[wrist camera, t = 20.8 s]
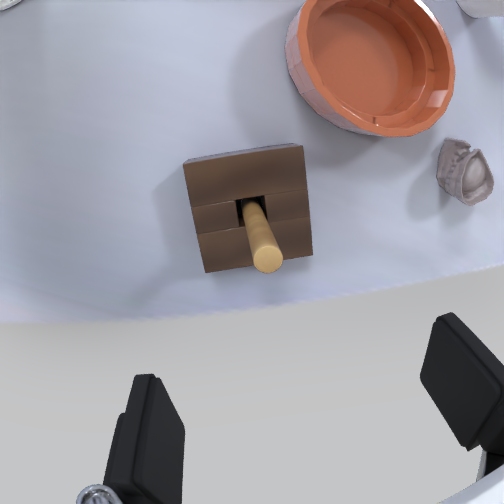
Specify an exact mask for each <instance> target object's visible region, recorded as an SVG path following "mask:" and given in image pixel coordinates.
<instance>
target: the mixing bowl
mask: <svg viewBox="0 0 504 504" xmlns="http://www.w3.org/2000/svg"><path fill="white" fill-rule="evenodd" d="M285 53H286V59H287V65H288V71H289V73H290V75H291V77H292V79H293V81H294V83H295V85H296V87H297V89H298V91H299V93H300V95H301V96H302V97H303V98H304V99H305V100H306V101H307V103H308V104H309V105H310V106H311V107H312V108H313V109H314V110H315V111H316V112H317V114H319V115H320V116H322V117H323V118H325V119H326V120H328V121H330V122H331V123H333V124H334V125H336V126H338V127H339V128H342V129H346V130H349V131H353V132H356V133H360V134H366V135H375V136H383V137H406V136H412V135H415V134H417V133H419V132H422V131H424V130H426V129H429V128H430V127H431V126H432V125H433V124H434V123H435V122H436V121H437V120H438V119H439V118H440V117H441V116H442V115H443V114H444V113H445V111H446V109H447V106H448V104H449V102H450V100H451V97H452V95H453V89H454V80H455V66H454V60H453V54H452V49H451V46H450V44H449V41H448V39H447V37H446V35H445V32H444V30H443V28H442V26H441V24H440V23H439V22H438V20H437V19H436V18H435V16H434V15H433V14H432V13H431V11H430V10H429V9H428V7H427V6H426V5H425V4H424V3H423V2H422V1H420V0H306V1H305V2H304V4H303V5H302V6H301V8H300V9H299V11H298V12H297V14H296V15H295V17H294V18H293V20H292V21H291V23H290V25H289V27H288V33H287V38H286V43H285Z"/></svg>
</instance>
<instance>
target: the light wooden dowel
mask: <svg viewBox="0 0 504 504" xmlns="http://www.w3.org/2000/svg"><path fill="white" fill-rule="evenodd" d="M241 208H242V213H243V217H244V222H245V226H246V231H247V235H248V239H249V244H250V248H251V253H252V257H253V262H254V265H255V267H256V268H257V269H258V270H259V271H261V272H263V273H272V272H274V271H276V270H277V269H279V267H280V266H281V264H282V262H283V255H282V253H281V251H280V248H279V246H278V244H277V242H276V240H275V237H274V235H273V233H272V231H271V228H270V226H269V224H268V222H267V220H266V218H265V215H264V213H263V211H262V209H261V207H260V205H259V202H258V200H257V199H256V198H255V197H250V198H243V199H242V201H241Z"/></svg>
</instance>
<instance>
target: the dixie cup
mask: <svg viewBox="0 0 504 504" xmlns="http://www.w3.org/2000/svg"><path fill="white" fill-rule="evenodd" d="M456 1H457V3H458V4H459V6H460V7H461V9H462V10H463V11H464V12H465V13H466V14H468V15H469V16H471V17H473V18H481V17H504V0H456Z"/></svg>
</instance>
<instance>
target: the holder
mask: <svg viewBox="0 0 504 504" xmlns="http://www.w3.org/2000/svg"><path fill="white" fill-rule="evenodd" d="M183 169H184V174H185V179H186V184H187V189H188V194H189V199H190V204H191V207H192V208H191V209H192V214H193V219H194V224H195V228H196V233H197V238H198V242H199V247H200V252H201V256H202V260H203V265H204V269H205V273H209V272H215V271H221V270H227V269H233V268H239V267H245V266H251V265H254V262H253V257H252V253H251V248H250V244H249V239H248V235H247V231H246V226H245V222H244V217H243V215H238V214H237V208H236V201H235V200H237V199H243V198H250V197H256V196H261V203H262V210H263V213H264V215H265V218H266V220H267V222H268V224H269V226H270V228H271V231H272V233H273V235H274V237H275V240H276V242H277V244H278V246H279V248H280V251H281V253H282V255H283V260H287V259H293V258H298V257H304V256H310V255H313V250H312V236H311V223H310V211H309V200H308V190H307V180H306V170H305V161H304V152H303V146H301V145H297V144H293V143H292V144H283V145H275V146H268V147H260V148H253V149H246V150H240V151H233V152H227V153H221V154H215V155H210V156H204V157H199V158H194V159H188V160H187V161H186V162H185V163H184V164H183Z"/></svg>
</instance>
